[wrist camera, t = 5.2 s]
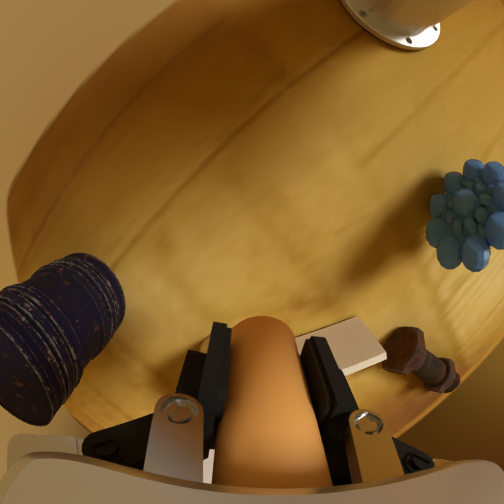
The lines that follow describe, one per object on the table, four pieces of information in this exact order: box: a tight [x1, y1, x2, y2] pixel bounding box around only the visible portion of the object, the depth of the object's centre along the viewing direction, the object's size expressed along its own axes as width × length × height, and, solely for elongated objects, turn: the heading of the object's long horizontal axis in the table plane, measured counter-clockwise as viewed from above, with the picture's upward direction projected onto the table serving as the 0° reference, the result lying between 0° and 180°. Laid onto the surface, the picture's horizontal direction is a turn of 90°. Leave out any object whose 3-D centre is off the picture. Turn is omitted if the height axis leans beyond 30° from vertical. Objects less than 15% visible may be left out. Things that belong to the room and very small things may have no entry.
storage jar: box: [0, 253, 125, 426], centre depth 19 cm, size 10×10×15 cm
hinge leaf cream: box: [295, 316, 387, 376], centre depth 25 cm, size 17×7×7 cm, turn 108°
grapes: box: [426, 159, 504, 272], centre depth 20 cm, size 12×7×12 cm, turn 146°
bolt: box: [382, 327, 460, 393], centre depth 28 cm, size 6×5×15 cm
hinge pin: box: [211, 316, 333, 489], centre depth 8 cm, size 3×3×9 cm
